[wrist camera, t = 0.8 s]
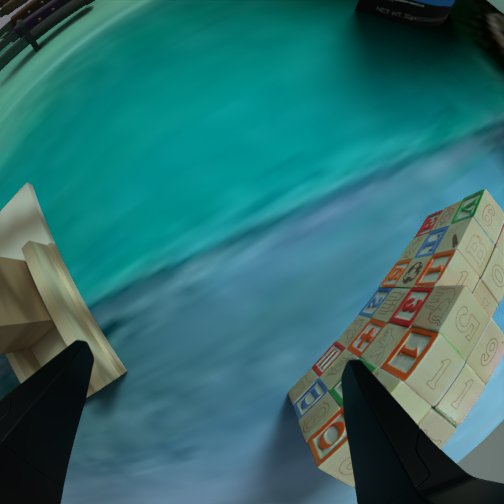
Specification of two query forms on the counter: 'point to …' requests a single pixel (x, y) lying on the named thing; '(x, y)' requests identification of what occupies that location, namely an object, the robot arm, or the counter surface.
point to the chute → (52, 294)
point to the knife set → (32, 22)
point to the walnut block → (20, 308)
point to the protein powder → (409, 10)
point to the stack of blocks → (418, 334)
